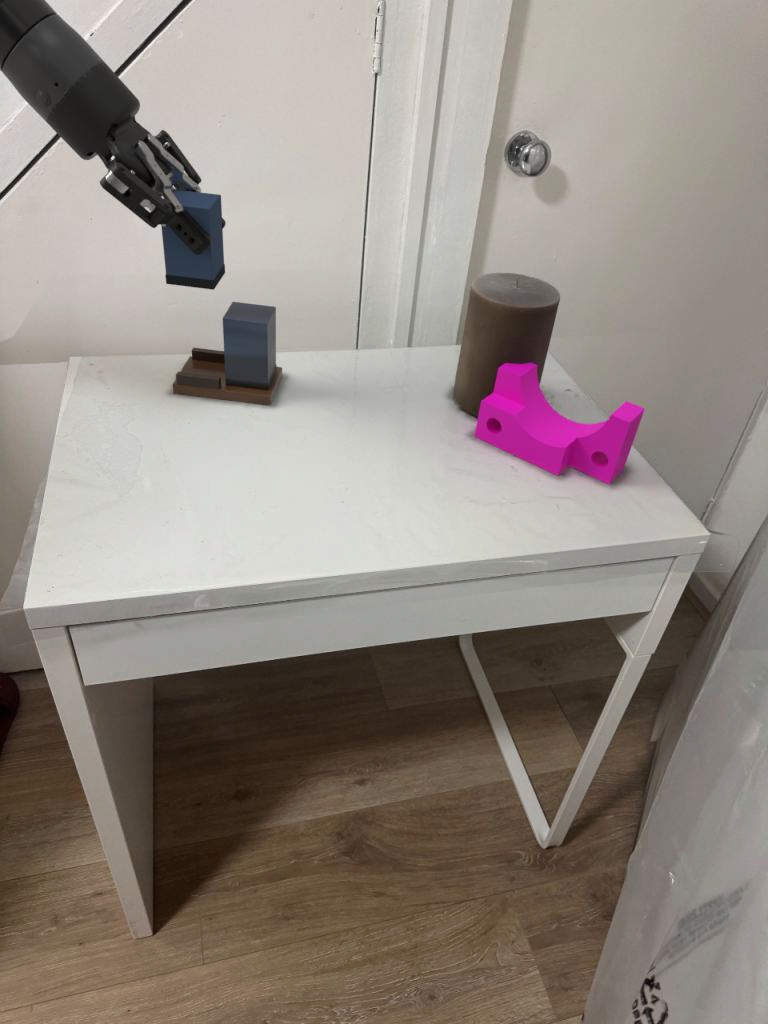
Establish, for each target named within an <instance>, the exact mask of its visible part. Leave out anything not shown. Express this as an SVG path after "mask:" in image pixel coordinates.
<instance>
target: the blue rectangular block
mask: <svg viewBox="0 0 768 1024" xmlns="http://www.w3.org/2000/svg"><path fill="white" fill-rule="evenodd" d="M172 193H173V194H174V196H175V197H176V198H177V200H178V201H179V202H180V204H181V205H182V207H183V211H182V213H183V212H184V211H185V210H186V211H187V212H188V213H189V214H190V215H191V216H192V217H193V218H194V219H195V220H196V221H197V223H198V224H199V225H200V226H201V227H202V228H203V229H204V230H205V231H206V232H207V233H208V234H209V235H210V236H211V238H212V243H211V245H210V246H209V247H208V248H207V249H206V250H205V251H203V252H202V253H201V254H200V255H196V254H194V253H193V252H192V250H191V249H190V248H189V247H188V246H187V245H186V244H185V243H184V242H183V241H182V240H181V239H180V238H179V237H178V236H177V235H176V234H175V233H174V232H173V231H172V230H171V229H170V227H169V226H167V227H163V226H162V225H161V224H160V226H161V237H162V246H163V256H164V268H165V284H167V285H171V286H180V287H189V288H197V289H204V290H215V289H216V288H217V286H218V284H219V283H220V282H221V280H222V278H223V277H224V276H225V274H226V264H225V256H224V255H225V252H224V232H223V231H224V230H223V229H224V228H223V229H222V218H223V212H222V211H223V209H222V195H221V194H217V193H216V194H215V193H208V192H202V191H201V192H193V191H184V190H176V188H175V189H173V190H172ZM163 199H164V198H163ZM164 200H165V199H164ZM165 201H166V200H165Z"/></svg>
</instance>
